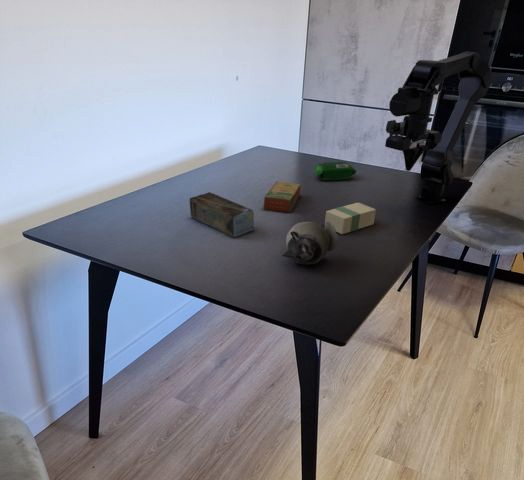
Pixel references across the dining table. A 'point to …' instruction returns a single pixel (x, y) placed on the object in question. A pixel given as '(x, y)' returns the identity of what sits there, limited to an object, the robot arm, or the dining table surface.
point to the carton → (282, 197)
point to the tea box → (350, 217)
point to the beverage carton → (222, 214)
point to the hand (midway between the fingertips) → (408, 170)
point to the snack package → (334, 171)
